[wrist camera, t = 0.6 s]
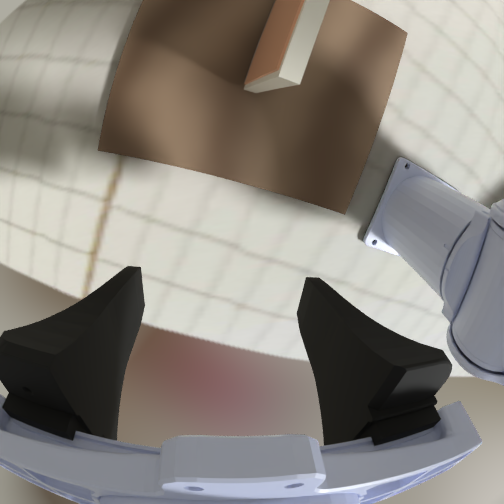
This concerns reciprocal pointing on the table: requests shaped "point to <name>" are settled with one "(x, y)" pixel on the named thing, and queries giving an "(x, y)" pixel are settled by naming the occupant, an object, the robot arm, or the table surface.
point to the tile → (285, 44)
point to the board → (252, 97)
